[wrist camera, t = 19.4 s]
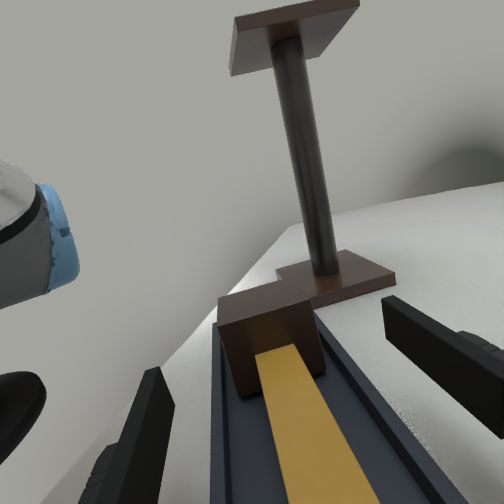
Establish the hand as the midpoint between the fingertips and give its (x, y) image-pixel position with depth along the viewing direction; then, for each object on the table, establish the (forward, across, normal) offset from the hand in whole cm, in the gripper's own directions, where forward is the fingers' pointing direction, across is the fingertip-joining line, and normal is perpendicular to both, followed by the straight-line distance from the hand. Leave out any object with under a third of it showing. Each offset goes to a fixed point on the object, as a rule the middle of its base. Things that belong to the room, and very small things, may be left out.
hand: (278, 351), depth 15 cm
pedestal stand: (+20, +11, -6) cm, 24 cm away
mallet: (0, 0, -5) cm, 5 cm away
